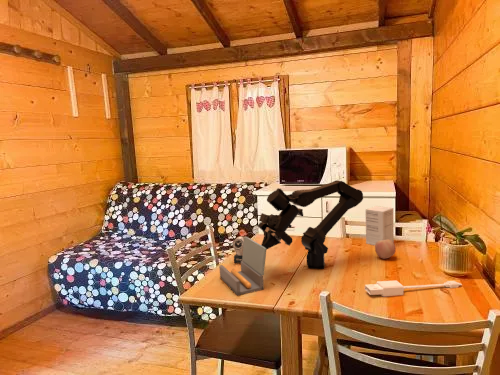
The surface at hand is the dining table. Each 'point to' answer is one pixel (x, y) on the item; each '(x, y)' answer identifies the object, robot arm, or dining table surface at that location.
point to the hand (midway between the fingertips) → (260, 251)
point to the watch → (238, 249)
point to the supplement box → (379, 224)
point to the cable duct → (242, 279)
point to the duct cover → (254, 255)
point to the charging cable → (400, 287)
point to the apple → (385, 248)
